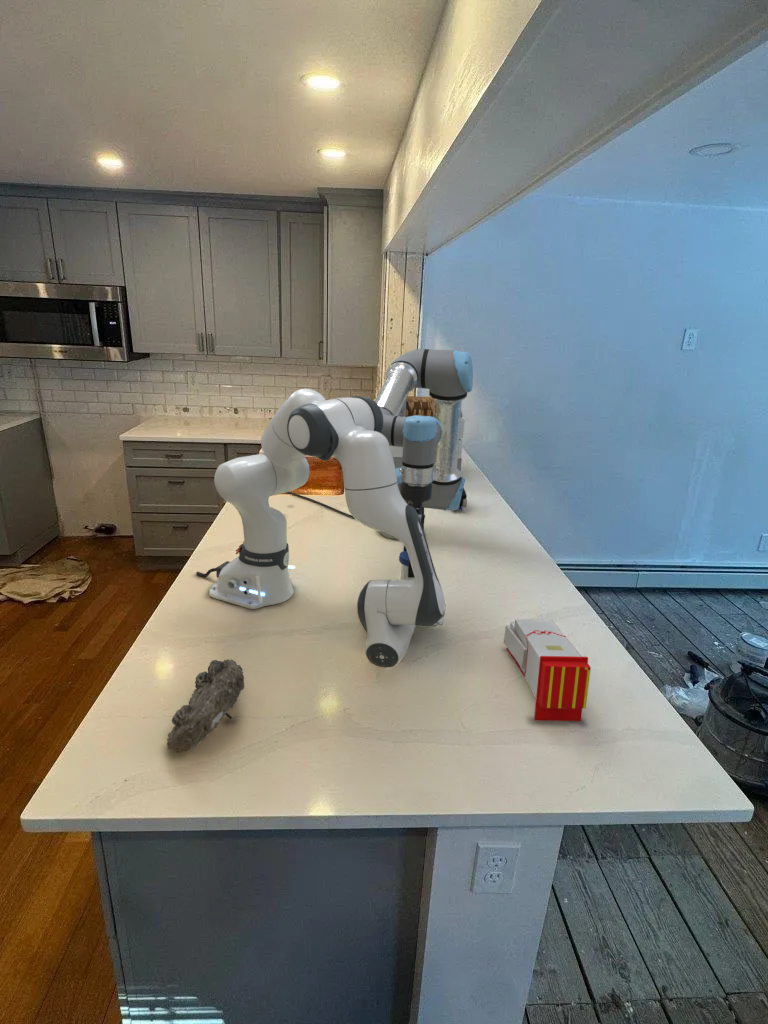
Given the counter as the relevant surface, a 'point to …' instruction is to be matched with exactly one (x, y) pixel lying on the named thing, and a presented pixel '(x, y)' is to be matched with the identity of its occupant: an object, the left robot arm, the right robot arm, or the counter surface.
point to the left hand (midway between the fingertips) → (409, 592)
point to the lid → (404, 558)
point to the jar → (404, 573)
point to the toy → (549, 668)
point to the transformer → (421, 408)
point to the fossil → (206, 705)
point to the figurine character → (463, 500)
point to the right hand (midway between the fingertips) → (410, 569)
